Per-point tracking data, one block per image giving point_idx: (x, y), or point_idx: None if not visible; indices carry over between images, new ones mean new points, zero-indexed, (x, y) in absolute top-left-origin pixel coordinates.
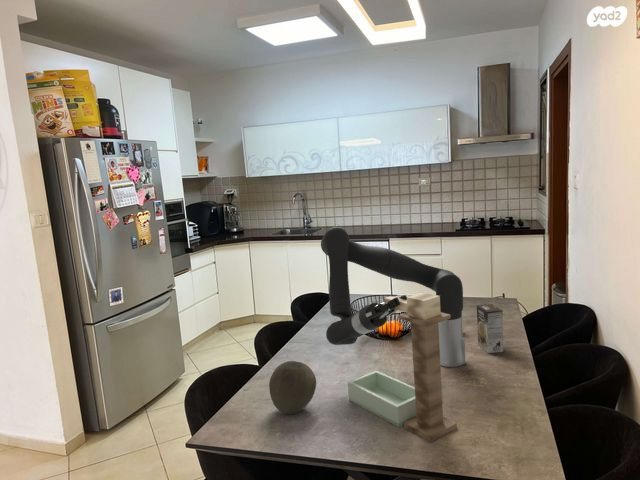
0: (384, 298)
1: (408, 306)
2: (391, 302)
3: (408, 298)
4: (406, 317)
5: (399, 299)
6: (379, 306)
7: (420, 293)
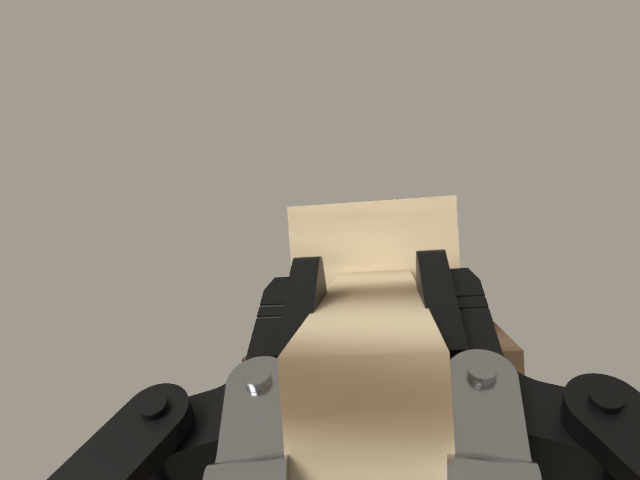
0: (448, 355)
1: (458, 264)
2: (484, 306)
3: (453, 203)
4: (501, 329)
5: (355, 302)
6: (635, 418)
7: (320, 205)
